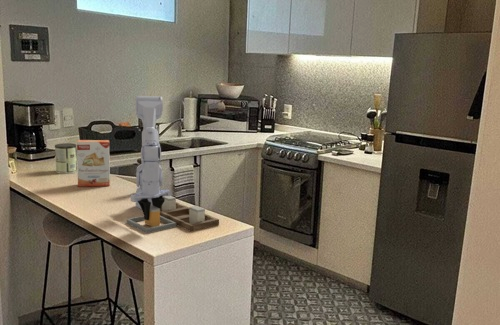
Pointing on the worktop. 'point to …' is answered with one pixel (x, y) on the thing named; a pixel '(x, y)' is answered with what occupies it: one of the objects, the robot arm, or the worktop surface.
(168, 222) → the tray
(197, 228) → the holder
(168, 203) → the block
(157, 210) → the grey and orange block
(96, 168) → the cracker box
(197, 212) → the block
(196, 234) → the worktop surface
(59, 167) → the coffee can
